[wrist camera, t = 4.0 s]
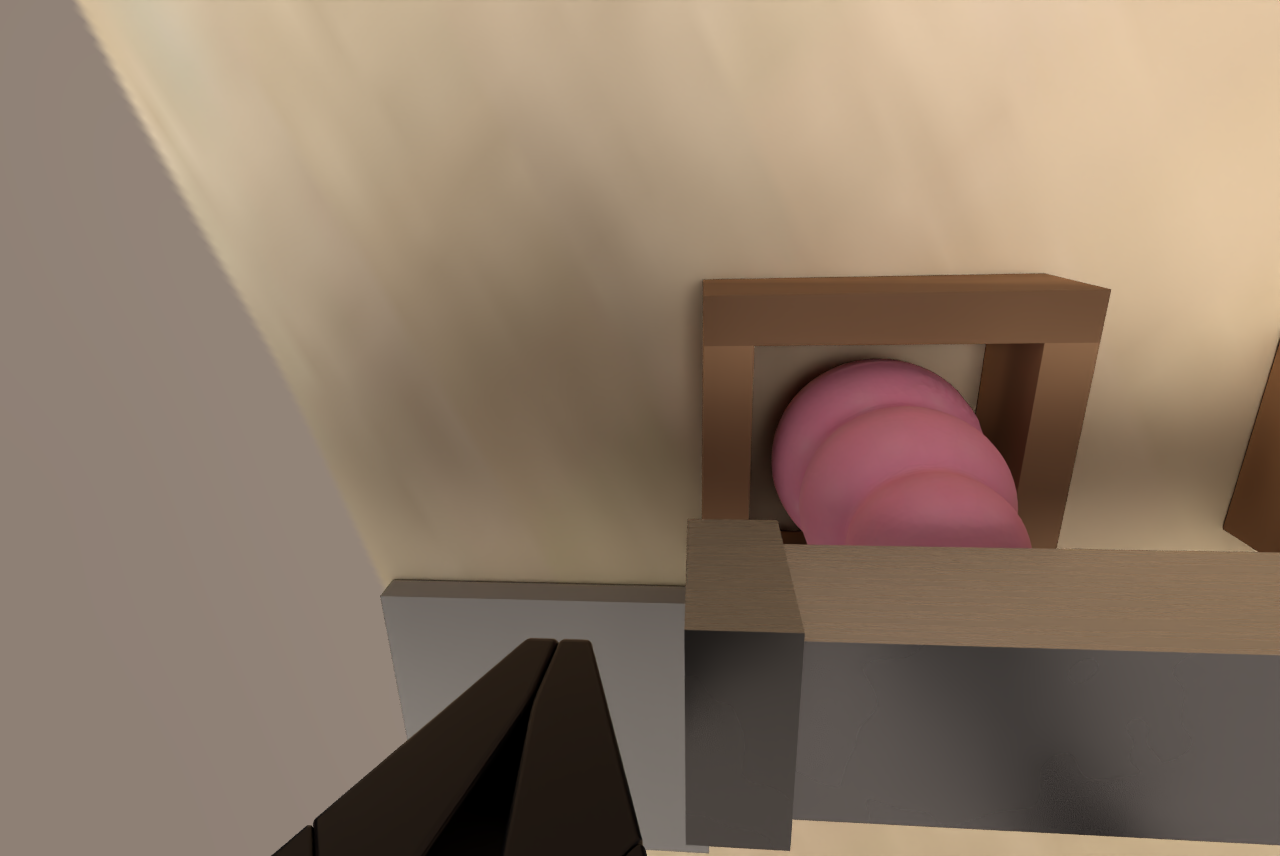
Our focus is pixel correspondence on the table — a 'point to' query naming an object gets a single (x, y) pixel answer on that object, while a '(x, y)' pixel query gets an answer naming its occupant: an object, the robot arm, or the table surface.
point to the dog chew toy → (892, 463)
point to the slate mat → (603, 614)
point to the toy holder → (1009, 390)
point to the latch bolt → (978, 689)
